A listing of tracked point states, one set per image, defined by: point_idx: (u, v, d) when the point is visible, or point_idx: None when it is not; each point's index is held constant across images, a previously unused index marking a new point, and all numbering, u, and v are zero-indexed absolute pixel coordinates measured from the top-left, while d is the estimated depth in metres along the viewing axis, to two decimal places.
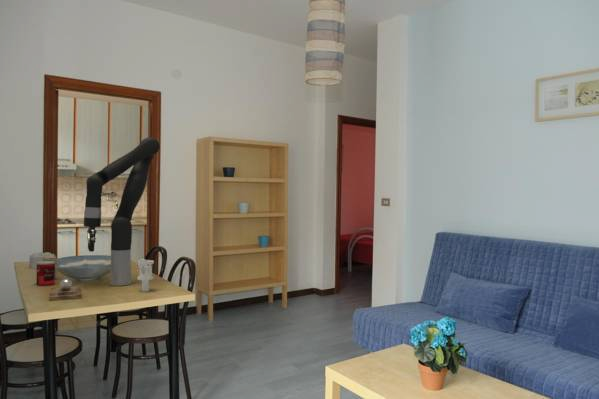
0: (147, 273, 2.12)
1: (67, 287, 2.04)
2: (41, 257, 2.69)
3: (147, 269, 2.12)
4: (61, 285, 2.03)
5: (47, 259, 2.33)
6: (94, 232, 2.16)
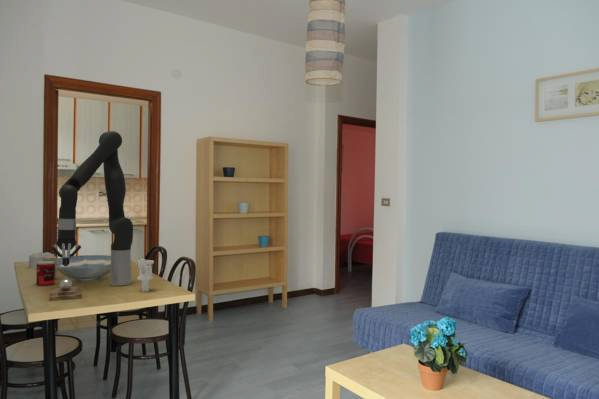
0: (147, 273, 2.12)
1: (67, 287, 2.04)
2: (41, 257, 2.69)
3: (147, 269, 2.12)
4: (61, 285, 2.03)
5: (47, 259, 2.33)
6: (79, 248, 2.16)
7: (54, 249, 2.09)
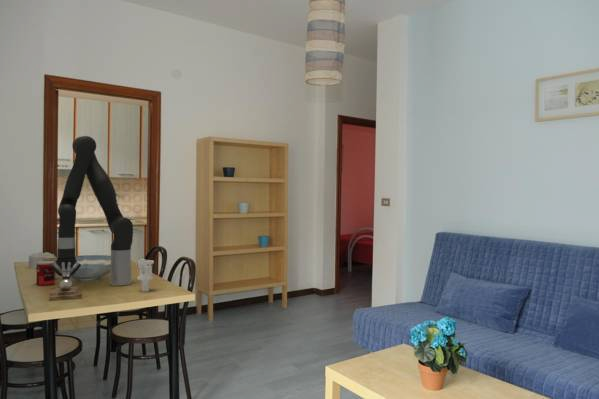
0: (147, 273, 2.12)
1: (67, 287, 2.04)
2: (41, 257, 2.69)
3: (147, 269, 2.12)
4: (61, 285, 2.03)
5: (47, 259, 2.33)
6: (79, 266, 2.15)
7: (54, 268, 2.09)
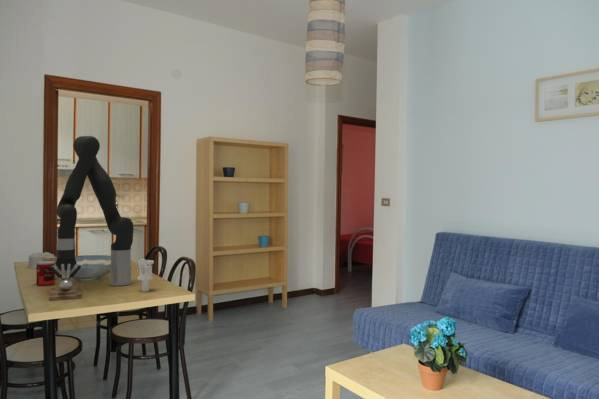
0: (147, 273, 2.12)
1: (67, 289, 2.03)
2: (40, 257, 2.69)
3: (147, 269, 2.12)
4: (61, 287, 2.02)
5: (47, 259, 2.33)
6: None
7: (53, 270, 2.05)
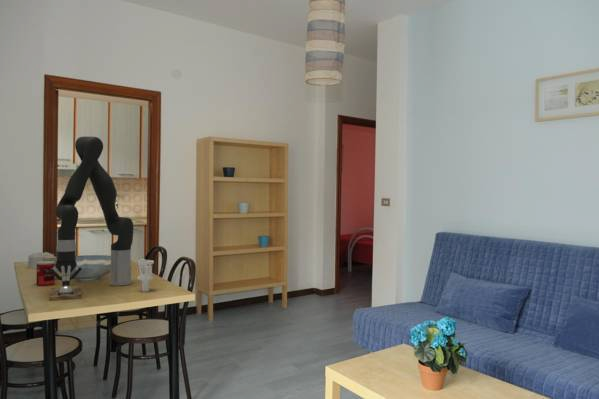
0: (147, 273, 2.12)
1: None
2: (40, 257, 2.69)
3: (147, 269, 2.12)
4: None
5: (47, 259, 2.33)
6: None
7: (53, 272, 2.00)
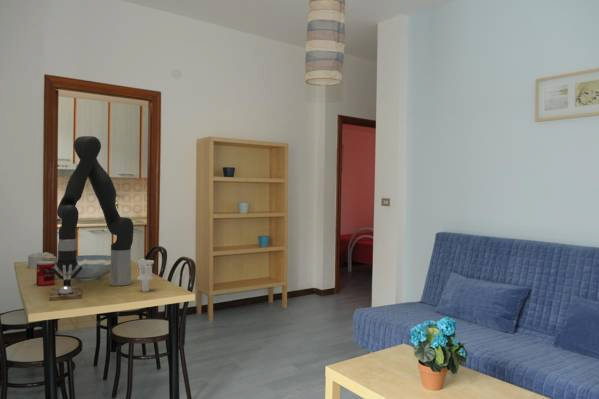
0: (147, 273, 2.12)
1: None
2: (40, 257, 2.69)
3: (147, 269, 2.12)
4: None
5: (47, 259, 2.33)
6: None
7: (55, 271, 2.03)
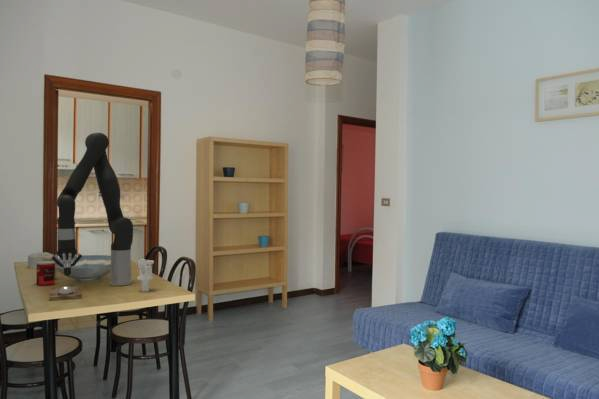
0: (147, 273, 2.12)
1: None
2: (40, 257, 2.69)
3: (147, 269, 2.12)
4: None
5: (47, 259, 2.33)
6: (80, 257, 2.16)
7: (55, 259, 2.09)
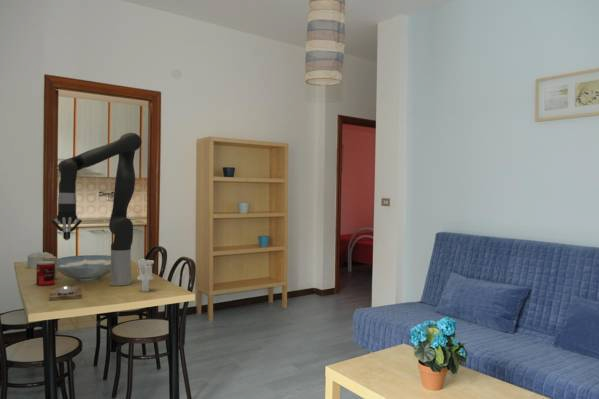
0: (147, 273, 2.12)
1: None
2: (40, 257, 2.69)
3: (147, 269, 2.12)
4: None
5: (47, 259, 2.33)
6: (80, 222, 2.16)
7: (55, 223, 2.10)
